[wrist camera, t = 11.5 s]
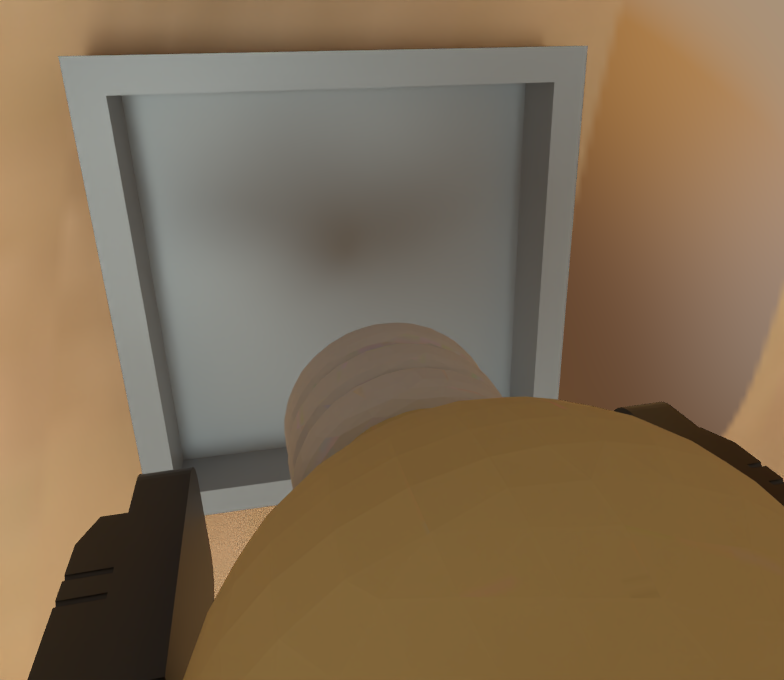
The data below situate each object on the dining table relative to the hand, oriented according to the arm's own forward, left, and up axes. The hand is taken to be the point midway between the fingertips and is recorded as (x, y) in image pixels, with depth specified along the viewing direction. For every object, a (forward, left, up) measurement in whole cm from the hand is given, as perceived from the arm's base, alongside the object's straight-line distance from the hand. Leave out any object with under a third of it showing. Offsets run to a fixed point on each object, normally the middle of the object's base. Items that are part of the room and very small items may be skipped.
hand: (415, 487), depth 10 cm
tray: (0, 0, -10) cm, 10 cm away
